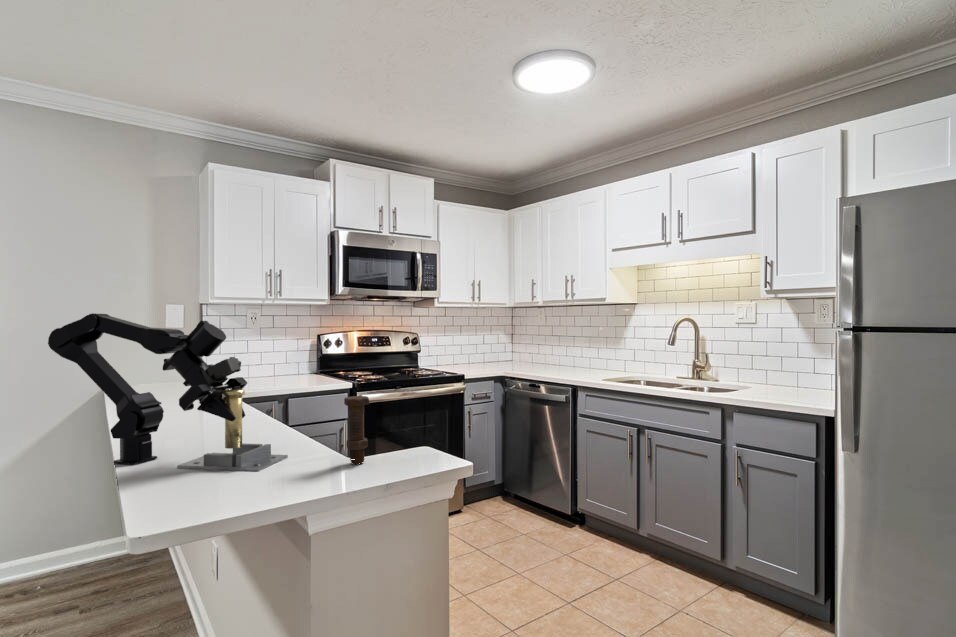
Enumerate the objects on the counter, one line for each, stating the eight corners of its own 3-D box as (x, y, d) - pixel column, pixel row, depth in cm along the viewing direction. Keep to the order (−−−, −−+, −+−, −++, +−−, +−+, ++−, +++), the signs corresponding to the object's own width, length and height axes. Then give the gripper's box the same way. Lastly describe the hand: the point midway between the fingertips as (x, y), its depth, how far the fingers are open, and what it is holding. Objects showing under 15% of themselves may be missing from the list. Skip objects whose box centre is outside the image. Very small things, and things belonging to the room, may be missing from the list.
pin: (219, 449, 120) (219, 392, 120) (227, 444, 125) (227, 389, 125) (239, 448, 120) (239, 391, 120) (247, 444, 125) (247, 389, 125)
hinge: (177, 468, 118) (177, 454, 118) (213, 455, 130) (213, 442, 130) (258, 471, 115) (258, 456, 115) (287, 457, 127) (287, 444, 127)
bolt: (373, 460, 122) (372, 395, 123) (366, 466, 117) (365, 398, 118) (348, 460, 123) (348, 395, 123) (341, 466, 118) (340, 398, 118)
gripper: (191, 348, 114) (240, 399, 113) (239, 344, 132) (281, 389, 131) (157, 384, 115) (205, 436, 113) (210, 376, 133) (251, 420, 132)
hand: (239, 418), depth 122 cm, fingers closed on pin, 4 cm apart
